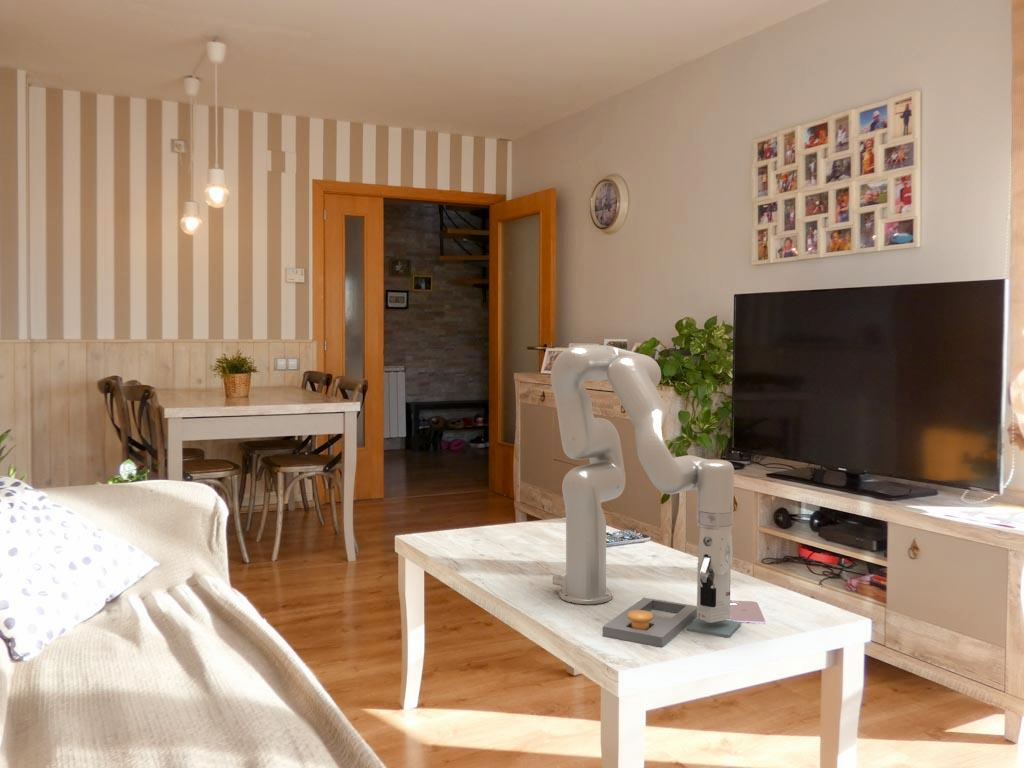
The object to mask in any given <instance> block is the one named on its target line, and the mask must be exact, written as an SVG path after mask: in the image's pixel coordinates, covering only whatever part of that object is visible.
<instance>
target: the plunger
mask: <svg viewBox="0 0 1024 768" xmlns="http://www.w3.org/2000/svg"><path fill="white" fill-rule="evenodd" d="M653 615H654V613H653V612H652V611H645V610H633V611H630V612H628V619H630V620H632V628H635V629H641V630H646V631H647V630H648V629H649V621H651V620H652V619H653Z"/></svg>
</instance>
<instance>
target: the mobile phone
mask: <svg viewBox="0 0 1024 768" xmlns="http://www.w3.org/2000/svg"><path fill="white" fill-rule="evenodd" d="M729 621H735V622H741V624H749V623H765V622H766V623H767V621H766V619H765V617H764V614H763V612H762V609H761V607H760V605H759V603H758V602H757V601H754V600H753V601H752V600H751V601H750V600H749V601H748V600H733V599H730V618H729ZM766 623H765V624H766Z"/></svg>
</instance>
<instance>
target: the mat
mask: <svg viewBox="0 0 1024 768" xmlns="http://www.w3.org/2000/svg"><path fill="white" fill-rule="evenodd" d="M741 626H742V623H741V622H735V621H730V619H726V620H722V621H717V622H713V623H709V622H706V621H703V620H701V619H699V618H697V617H696V618H695V619H694V620H693V622H690V623H689V624H688V625H687V626H686V631H689V632H693V633H694V632H695V633H699V634H705V635H710V636H717V637H721V638H728V639H729V638H731V637H732V636H733V634H734V633H735V632H736V631H737V630H738V629H739V628H740V627H741Z"/></svg>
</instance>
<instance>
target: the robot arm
mask: <svg viewBox="0 0 1024 768" xmlns="http://www.w3.org/2000/svg"><path fill="white" fill-rule="evenodd" d="M661 378H662V370H661V367H660V366H659V364H658V362H657V361H656V360H655V359H654V358H653V357H651V356H648V355H646V354H641V353H638V352H635V351H630V350H627V349H624V348H619V347H616V346H612V345H606V344H605V345H604V344H603V345H602V344H601V345H593V344H592V345H587V344H586V345H585V344H583V345H575V346H570V347H568V348H566V349H564V350H563V351H562V352H560V353H559V354H558V355H557V357H555V359H554V361H553V363H552V365H551V370H550V382H551V383H550V384H551V388H552V392H553V395H554V399H555V400H554V401H555V406H556V411H557V412H556V413H557V419H558V426H559V427H558V428H559V433H560V439H561V446H562V449H563V452H564V454H565V455H566V456H567V457H568V458H569V459H571V460H575V461H576V460H578V461H581V460H588V459H589V463H587V464H583V465H578V466H575V467H573V468H572V469H570V470H569V471H568V472H567V473H566V474H565V475H564V477H563V479H562V485H561V489H562V490H561V491H562V492H561V493H562V497H563V503H564V509H565V538H566V539H565V575H564V576H563V575H560V574H553V575H552V579H551V581H552V582H551V584H552V585H554V586H561V589H560V590H559V598H560V599H562V600H563V601H566V602H567V603H571V602H572V604H578V605H598V604H604V603H607V602H609V601H611V600H612V599H613V591H612V590H611V589H609V588H607V521H606V516H605V513H604V509H603V508H602V503H604V502H608V501H612V500H614V499H617V498H619V497H620V496H621V495H622V494H623V492H624V490H625V487H626V483H627V482H626V480H627V478H626V471H625V464H624V463H625V462H624V457H623V451H622V443H621V438H620V434H619V432H618V430H617V428H616V426H615V424H614V423H613V422H611V421H610V420H608V419H606V418H603V417H595V415H594V410H593V402H592V398H591V396H590V394H589V392H588V390H587V388H586V387H585V382H596V381H597V382H598V381H608V382H609V385H610V387H611V389H612V390H613V392H614V393H615V395H616V397H617V399H618V400H619V403H620V404H621V406H622V408H623V409H624V411H625V413H626V414H627V416H628V418H629V419H630V421H631V424H632V426H633V427H634V443H635V450H636V454H637V458H638V461H639V463H640V464H641V466H642V468H643V470H644V472H645V473H646V475H647V477H648V478H649V480H650V482H651V483H652V485H653V486H654V487H655V488H656V489H657V490H658V491H659V492H662V493H663V494H665V495H675V494H679V493H684V492H689V491H693V490H696V525H697V527H700V528H699V535H698V536H699V538H698V551H697V552H698V553H697V555H698V556H697V570H698V569H699V572H700V581H701V583H700V587H701V589H700V604H701V605H702V606H707V607H715V606H716V588H714V587H715V581H716V574H717V575H718V576H722V575H723V574H724V573H726V572H727V571H728V570H729V564H730V563H731V568H732V567H733V562H734V561H733V560H734V557H733V556H734V555H733V554H734V553H733V551H734V550H733V535H732V534H733V533H732V528H733V527H734V500H735V499H734V493H735V492H734V490H735V489H734V488H735V468H734V465H733V464H732V462H730V461H727V460H723V459H709V458H708V459H707V458H703V457H700V456H696V455H691V454H689V455H688V454H687V455H682V456H681V455H680V456H675V457H673V455H672V454H671V452H670V450H669V448H668V446H667V444H666V442H665V440H664V437H663V431H662V430H663V424H664V422H665V419H666V418H667V417H668V414H669V409H668V408H669V407H668V406H667V404H666V403H665V401H664V399H663V398H662V396H661V394H660V393H659V391H658V389H657V387H658V386H659V384H660V382H661ZM710 569H712V570H713V573H709V572H708V570H710ZM708 576H711V577H712V580H710V578H709V577H708Z"/></svg>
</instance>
